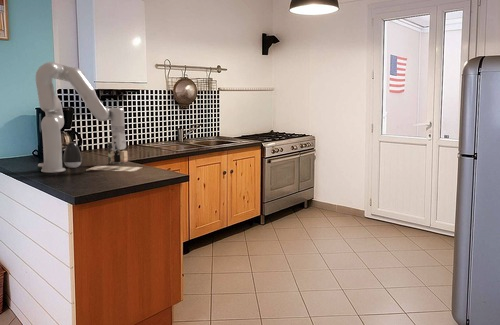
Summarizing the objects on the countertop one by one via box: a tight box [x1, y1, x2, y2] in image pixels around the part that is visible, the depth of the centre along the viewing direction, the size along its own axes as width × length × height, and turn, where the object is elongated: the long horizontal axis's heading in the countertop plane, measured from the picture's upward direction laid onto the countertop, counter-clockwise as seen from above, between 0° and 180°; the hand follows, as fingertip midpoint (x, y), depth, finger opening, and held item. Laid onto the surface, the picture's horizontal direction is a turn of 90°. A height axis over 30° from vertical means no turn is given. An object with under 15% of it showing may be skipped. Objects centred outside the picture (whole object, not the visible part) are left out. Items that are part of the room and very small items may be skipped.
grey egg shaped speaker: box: [62, 141, 83, 169], centre depth 267 cm, size 10×10×15 cm
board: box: [85, 165, 144, 172], centre depth 259 cm, size 28×15×1 cm, turn 84°
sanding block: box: [111, 150, 129, 163], centre depth 258 cm, size 8×5×6 cm, turn 84°
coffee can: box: [107, 141, 126, 166], centre depth 277 cm, size 10×10×14 cm
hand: (119, 160), depth 258 cm, fingers closed on sanding block, 5 cm apart
